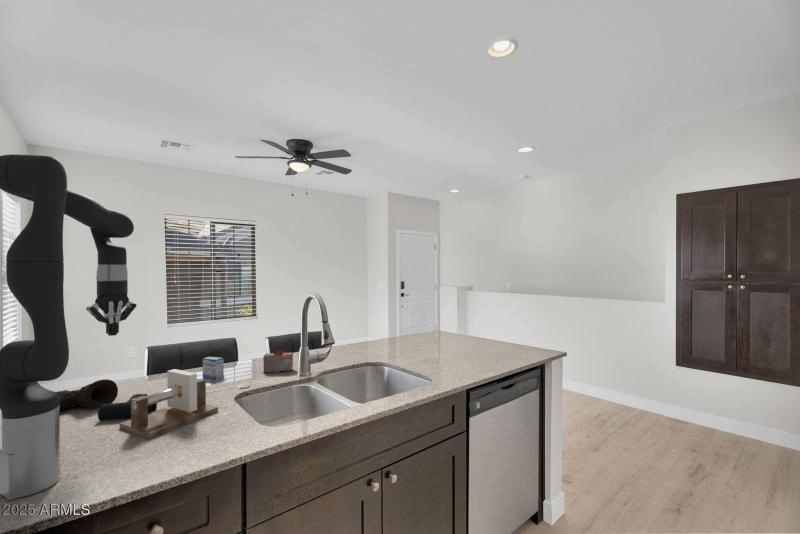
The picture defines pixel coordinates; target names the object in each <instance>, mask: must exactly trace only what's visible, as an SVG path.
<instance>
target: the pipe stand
mask: <svg viewBox="0 0 800 534" xmlns="http://www.w3.org/2000/svg"><path fill="white" fill-rule="evenodd" d="M206 381H207V380H206V379H205V378H203V379H202V378H197V410H195V411H192V412H187V411H183V410H180V409H176V408H173V407H169V406H168V405H167V406H166V407H164V408H160V409H156V411H154V412H151V413H148V398H147V397H144V396H140V397H137V398H133V399H131V402H132V401H134V400H135V401H136V404H137V408H136V410H133V409H132V407H131V418H130V419H129V420H125V421H121V422H119V429H122V430H124V431H126V432H129V433H133V434H135V435H138V436H139V437H140V436H141V437H142V438H146V439H149V440H150V439H153V438H155V437H158V436H160V435H164V434H166V433H168V432H171V431H173V430H175V429H177V428H181V427H182V426H185V425H188V424H190V423H193V422H195V421H197V420H199V419H203V418H204V417H207V416H210V415H213V414H214V413H215V414H216V413H217V412H219V407H218V406H215V405H213V404H212V405H211V404H209V403H208V404H207V402H206V401H207V398H206V397H207V394H206V393H207V391H206V390H207V389H206V388H207V387H206V386H207V383H206Z"/></svg>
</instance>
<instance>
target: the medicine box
mask: <svg viewBox="0 0 800 534" xmlns="http://www.w3.org/2000/svg"><path fill="white" fill-rule="evenodd" d="M224 359H225V358H224V357H219V356H218V357H217V356H207V357H204V358H202V378H203V379H212V378H218V379H220V378H219V377H221V376H223V377H224V375H225V374H224V373H225V372H224V371H225V370H224V369H225V368H224V366H225V365H224V364H225V362H224V361H225V360H224ZM221 378H222V377H221Z"/></svg>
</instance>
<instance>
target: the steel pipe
mask: <svg viewBox="0 0 800 534" xmlns="http://www.w3.org/2000/svg"><path fill="white" fill-rule="evenodd" d="M181 395H182V386H177V387H175V388H171V389H168V390H167V389H165V390H162V391H158V392H155V393H152V394H149V395H148V394H147V396H145V397H147V398H148V406H149V405H152V404H155V403H157V404H159V403H161V402H163V401H168V399H170V398H174V397H177V396H181ZM131 407H132V409H133V410H136V408H137V404H136V401H135V400H134V401H132V402H131Z"/></svg>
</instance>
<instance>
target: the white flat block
mask: <svg viewBox="0 0 800 534" xmlns="http://www.w3.org/2000/svg"><path fill="white" fill-rule="evenodd" d="M166 372H167V377H166V379H167V380H166V383H167V389H166V390H168V389H171V388H175V387H177V386H182V395H181V396H177V397H174V398H170V399H167V407H168V406H169V407H173V408H176V409H180V410H183V411H187V412H192V411H195V410H197V379H198V373H196V372H191V371H186V370H182V369H176V368H173V369H170V370H169V369H168V370H167V371H166Z"/></svg>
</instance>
